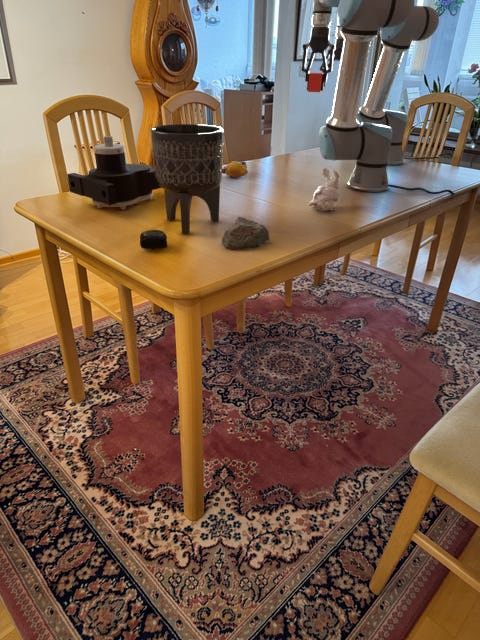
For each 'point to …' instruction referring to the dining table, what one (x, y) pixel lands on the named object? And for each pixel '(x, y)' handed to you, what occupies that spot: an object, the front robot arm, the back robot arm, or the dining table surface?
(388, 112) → the back robot arm
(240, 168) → the toy
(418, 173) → the dining table surface
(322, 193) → the figurine
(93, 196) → the mechanical component
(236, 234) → the rock
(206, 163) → the planter
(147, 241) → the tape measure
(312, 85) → the brick
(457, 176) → the dining table surface
